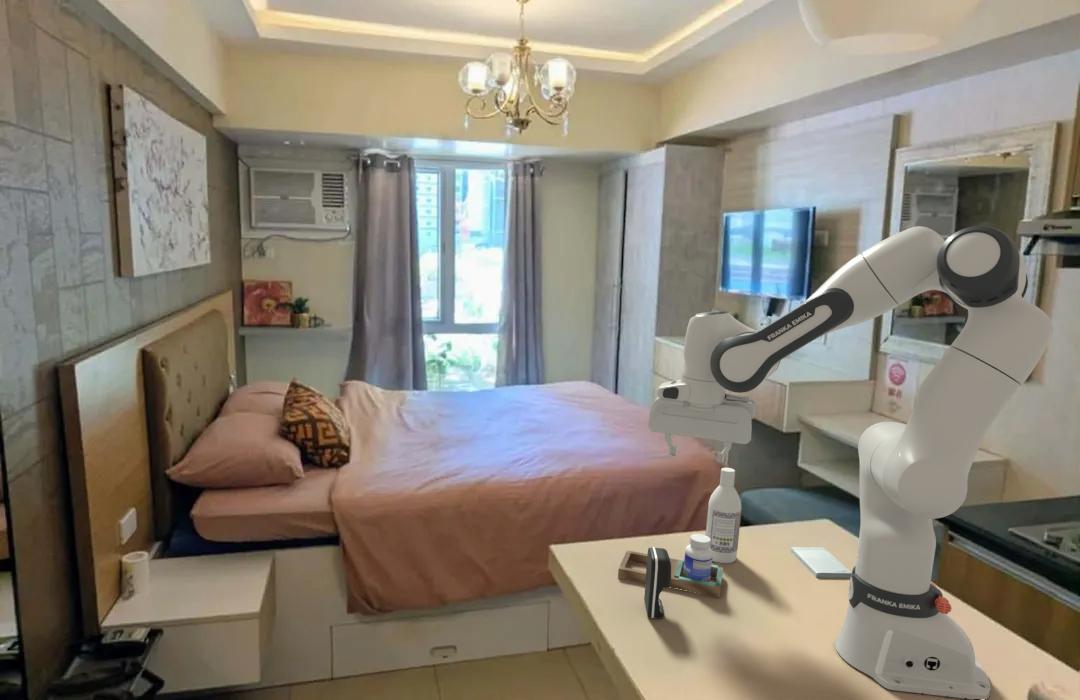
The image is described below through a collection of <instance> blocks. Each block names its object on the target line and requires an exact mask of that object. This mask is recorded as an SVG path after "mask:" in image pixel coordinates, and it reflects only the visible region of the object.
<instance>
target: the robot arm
mask: <svg viewBox="0 0 1080 700" xmlns="http://www.w3.org/2000/svg"><path fill="white" fill-rule="evenodd" d="M1024 259H1025V258H1024V257H1023V255H1022V253H1021V251H1020V250H1019V248H1018V246H1017V243H1016V242H1015V241H1014V240H1013V238H1012V237H1010V236H1009V235H1008V234H1007V233H1005V232H1003V231H1002V230H1000V229H998V228H995V227H993V226H988V225H987V226H986V225H973V226H969V227H964V228H962V229H959V230H958V231H955V232H954V233H953V234H951V235H950V236H949V237H947V238H946V240H945V239H944V238H943V236H941V234H939V232H937V231H935V230H933V229H932V228H929V227H927V226H921V225H920V226H919V225H917V226H913V227H909V228H907V229H904V230H903V231H900V232H897V233H895V234H893V235H891V236H889V237H887V238H885V239H883V240H881V241H879V242H877V243H875V244H874V245H872V246H869V248H867V249H866V250H864V251H862V252H860V253H858V254H857V255H855V256H854V257H853V258H852V259H850V260H849V261H847V262H846V263H845V264H843V265H842V266H841V267H840V268H839V269H837V270H836V271H835V272H834V273H833V274H832V275H831V276H829V278H827V280H825V282H823V284H822V285H820V287H818V289H816V290H815V291H814V292H813V293H812V294H811V295H810V296H809V297H808V298H807V299H806V300H804V301H803V302H802V303H800V305H798V306H797V307H795V308H794V309H792V310H791V311H789V312H787V313H786V314H784V315H782V316H780V317H779V318H777V319H776V320H774V321H772V322H771V323H769V324H768V325H766V326H765V327H763V328H761V329H759V330H756V329H753V328H752V327H749V326H748V325H745V324H744V323H743V322H740V321H739V320H738V319H736V318H735V317H734V316H733V315H732V314H731V313H730V312H729V311H725V310H710V311H704V312H699V313H695V314H694V315H692V317H690V319H689V321H688V324H687V327H686V332H685V337H684V347H683V359H684V365H683V369H682V371H681V377H680V378H681V379H675V380H670V381H665V382H663V383H661V384H660V385H659V386H658V387H657V391H656V395H657V396H656V397H655V399H654V401H653V402H652V405H651V408H650V412H649V414H648V415H649V416H648V422H647V427H648V429H649V430H650V432H653V433H654V432H655V433H658V434H659V433H661V434H664V440H665V442H666V444H667V446H668V448H669V449H668V455H669V456H675V457H676V456H677V454H678V445H675V444H674V443H673V440H672V439H673V436H674V435H675V436H682V437H683V436H684V437H688V438H689V437H690V438H696V439H697V438H698V439H704V440H710V441H717V442H718V441H719V442H723V447H724V449H723V450H722V451H717V452H716V453H717V454H716V463H720V464H724V463H725V459H726V458H725V457H726V455H727V454H728V452H729V451H730V450H731V449H732V445H733V443H734V444H740V445H747V444H749V442H751V441H752V428H753V427H752V420H753V419H754V418H755V416H756V413H757V412H756V411H757V404H756V402H755V401H754V400H753V399H751V398H750V397H749V396H746V395H745V396H744V395H742V396H740V395H735V394H728V393H726V392H727V391H729V392H732V393H738V394H739V393H741V394H742V393H748V392H751V391H753V390H754V389H756V388H757V387H758V386H760V384H762V382H764V381H765V380H766V379H768V378H769V377H771V376H772V375H773V374H774V373H775V372H776V371H777V369H778V368H779V366H780V364H781V360H783V359H785V358H786V357H788V356H790V355H791V354H794V352H796V351H798V350H800V349H801V348H803V347H805V346H807V345H808V344H810V343H812V342H813V341H815V340H816V339H819V338H820V337H823V336H825V335H827V334H830V333H832V332H835V331H838V330H842V329H846V328H849V327H852V326H855V325H858V324H862V323H864V322H868V321H870V320H873V319H875V318H877V317H880V316H883V315H884V314H886V313H888V312H890V311H892V310H894V309H895V308H897V307H899V306H901V305H902V304H904V303H906V302H907V301H909V300H911V299H913V298H915V297H916V296H917V295H920V294H923V293H924V292H928V291H929V292H930V291H939V293H940V294H941V295H942V296H943V297H945V298H947V299H948V300H949V301H950V302H952V304H953V303H954V305H956V306H957V307H958V308H960V309H962V310H963V311H965V312H967V313H968V315H967V320H966V323H965V324H964V327H963V328H962V330H961V331H960V332H959V334H958V335H957V337H955V339H954V341H953V342H952V343H951V345H950V346H949V347H948V348H947V350H946V351H945V352H944V353H943V355H942V356H941V358H940V359H939V360H938V362H937V363H936V364H935V366H934V367H933V368H932V369H931V371H929V373H928V374H927V376H926V377H925V379H924V380H923V381H922V382H921V384H920V386H919V389H918V391H917V399H916V402H915V404H914V407H913V410H912V412H911V414H910V417H909V419H908V421H907V423H906V424H905V423H900V422H895V421H879V422H877V423H875V424H872V425H870V426H868V427H867V428H866V429H865V430H864V431H863V432H862V434H861V436H860V438H859V440H858V444H857V452H858V458H859V509H860V510H859V511H860V527H859V535H858V536H859V538H858V544H857V545H858V546H857V552H856V553H857V554H856V561H855V566H854V567H853V568H852V570H851V572H852V576H851V578H849V579H850V580H849V587H848V595H847V596H848V597H847V598H848V601H849V604H848V608H847V612H846V615H845V618H844V620H843V624H842V626H841V628H840V631H839V634H838V635H837V637H836V639H835V641H834V647H835V648H836V649H835V650H836V651H837V653H838V654H839V656H840V657H841V658H842V659H843V660H844V661H845V662H846V663H848V664H849V665H851V666H852V667H853V668H855V669H857V670H858V671H859V672H861V673H864V674H866V675H868V676H869V677H871V678H873V680H875V681H876V683H878V684H879V685H881V686H882V687H883V688H884V689H885V688H886V689H888V690H889V691H890V690H891V691H898V692H905V693H906V692H907V693H915V694H922V693H923V694H924V695H932V696H940V697H947V696H948V698H949V697H950V698H957V699H964V698H967V699H966V700H973V699H986V700H987V699H989V697H990V695H991V683H990V678H989V676H988V675H987V672H986V671H985V669H984V667H983V666H982V664H981V663H980V662H979V661H978V660H977V659H976V653H975V650H974V646H973V643H972V642H971V639H970V638H969V636H968V634H967V633H966V631H965V630H964V629H963V628H962V627H961V626H960V625H959V624H958V623H957V622H956V621H954V620H953V618H951V617H950V616H949V613H950V612H951V611H952V610H953V609H952V605H951V604H950V602H949V600H948V599H947V598H946V597H943V596H944V595H943V592H942V591H941V590H940V589H939V588H937V586H936V584H935V583H934V582H933V581H932V575H933V567H934V561H935V560H934V559H935V553H936V547H937V539H936V533H935V530H934V525H933V520H934V519H936V520H937V519H941V518H944V517H948V516H949V515H952V514H954V513H956V511H957V510H958V509H959V508H960V507H961V506H962V505H963V504H964V502H965V500H966V498H967V496H968V495H967V494H968V478H969V473H970V470H971V467H972V466H973V463H974V460H975V458H976V456H977V453H978V450H979V449H980V447H981V444H982V442H983V441H984V438H985V436H986V434H987V433H988V430H989V429H990V428H991V426H992V424H993V423H994V422H995V420H997V418H998V416H1000V414H1001V412H1002V411H1003V410H1004V409H1005V408H1006V406H1007V405H1008V404H1009V402H1010V401H1011V400H1012V398H1013V397H1014V396H1015V395H1016V393H1017V392H1018V391H1019V389H1020V388H1021V387H1022V386H1023V384H1024V383H1025V382H1026V380H1027V379H1028V378H1029V377H1030V375H1031V374H1032V372H1033V370H1034V369H1035V368H1036V366H1037V365H1038V363H1039V361H1040V359H1041V357H1042V356H1043V354H1044V353H1045V350H1046V349H1047V347H1048V345H1049V342H1050V340H1051V338H1052V336H1053V333H1054V332H1053V331H1054V326H1053V322H1052V320H1051V319H1050V317H1049V316H1048V315H1047V313H1045V312H1044V311H1043V310H1042V309H1041V308H1040V307H1038V306H1037V305H1035V304H1033V303H1031V302H1030V301H1027V300H1026V299H1025V295H1026V293H1027V291H1028V290H1027V289H1028V283H1029V280H1028V274H1027V272H1026V271H1027V267H1026V263H1025V262H1026V261H1025V260H1024Z"/></svg>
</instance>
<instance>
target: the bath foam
mask: <svg viewBox="0 0 1080 700" xmlns="http://www.w3.org/2000/svg"><path fill="white" fill-rule="evenodd" d="M735 477H736V470H735V469H734V468H731V467H722V468H721V470H720V477H719V481H720V482H719V485H718V486H717V487H716V488H715V489H714V490H713V492H712V493H711V495H710V498H709V500H708V504H707V505H708V506H707V516H706V528H705V535H706V536H708V537H709V538H710V539H711V545H710V547H709V548H711V550H712V552H713V557H712V562H715V563H720V564H731V563H733V562H735V561H736V559H737V555H738V548H739V539H740V538H739V536H740V527H741V516H742V501H741V498H740V495H739V494H738V491H737V490H736V488H735V479H736V478H735Z"/></svg>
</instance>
